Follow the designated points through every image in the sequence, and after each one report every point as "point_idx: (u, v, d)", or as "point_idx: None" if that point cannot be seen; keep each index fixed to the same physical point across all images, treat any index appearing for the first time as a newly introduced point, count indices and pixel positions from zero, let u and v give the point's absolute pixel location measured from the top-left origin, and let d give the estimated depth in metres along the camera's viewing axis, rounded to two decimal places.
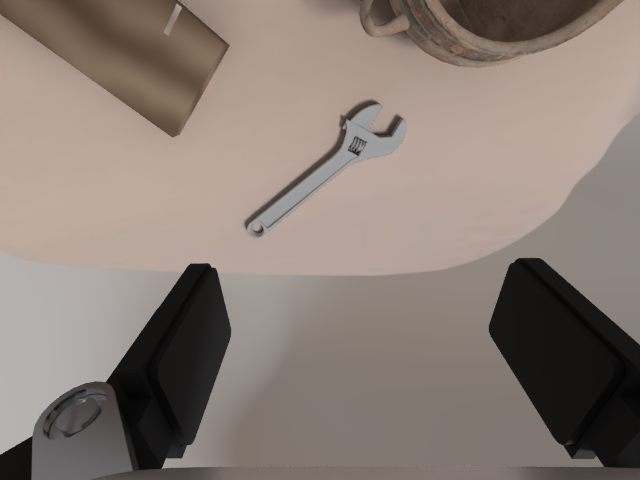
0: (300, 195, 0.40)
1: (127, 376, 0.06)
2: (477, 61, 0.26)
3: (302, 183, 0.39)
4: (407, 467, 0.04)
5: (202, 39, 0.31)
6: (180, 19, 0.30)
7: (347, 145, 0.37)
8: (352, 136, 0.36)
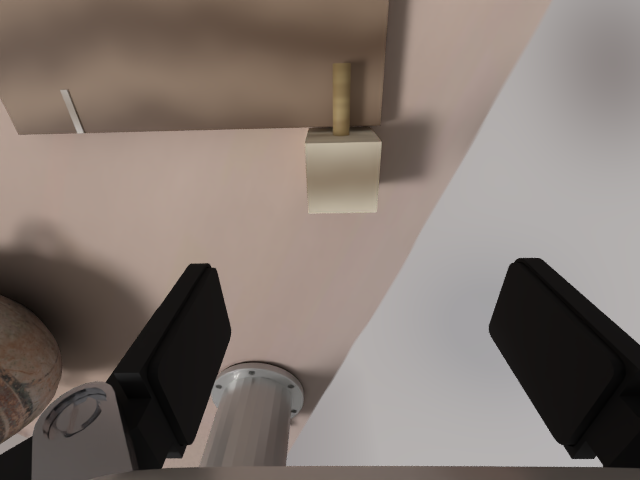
0: None
1: (127, 376, 0.06)
2: None
3: None
4: (407, 467, 0.04)
5: (35, 119, 0.23)
6: (69, 119, 0.23)
7: None
8: None
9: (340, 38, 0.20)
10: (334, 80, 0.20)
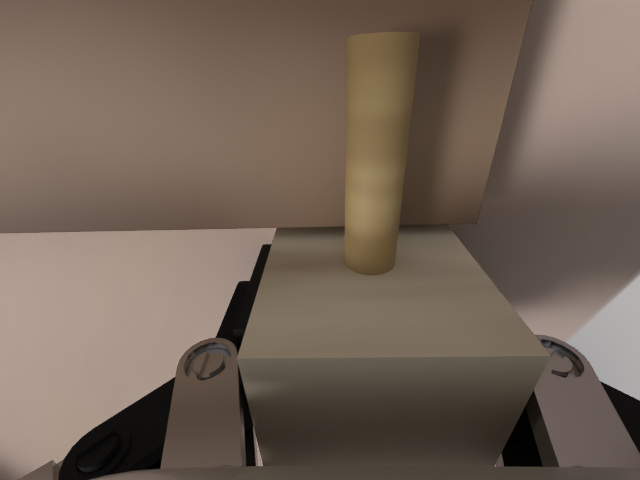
0: None
1: (243, 332, 0.07)
2: None
3: None
4: (407, 466, 0.04)
5: None
6: None
7: None
8: None
9: None
10: (353, 102, 0.05)
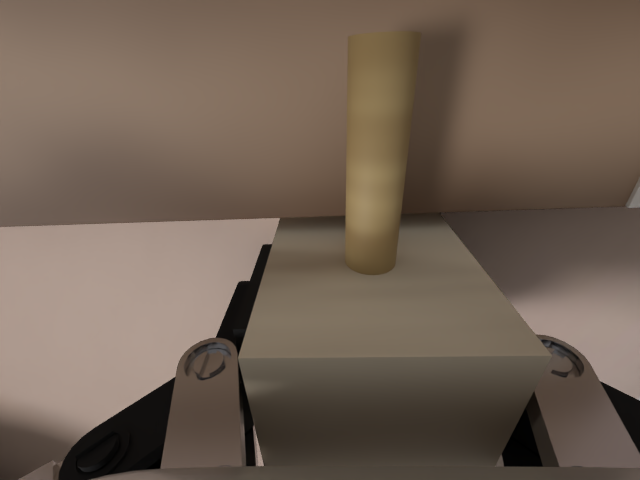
0: None
1: (244, 332, 0.07)
2: None
3: None
4: (407, 466, 0.04)
5: None
6: None
7: None
8: None
9: None
10: (354, 102, 0.05)
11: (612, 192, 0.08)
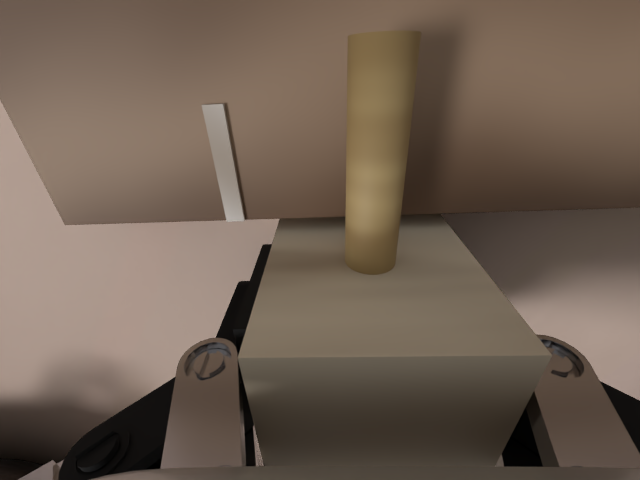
0: None
1: (243, 332, 0.07)
2: None
3: None
4: (408, 467, 0.04)
5: (116, 187, 0.08)
6: (209, 186, 0.08)
7: None
8: None
9: None
10: (354, 101, 0.05)
11: None
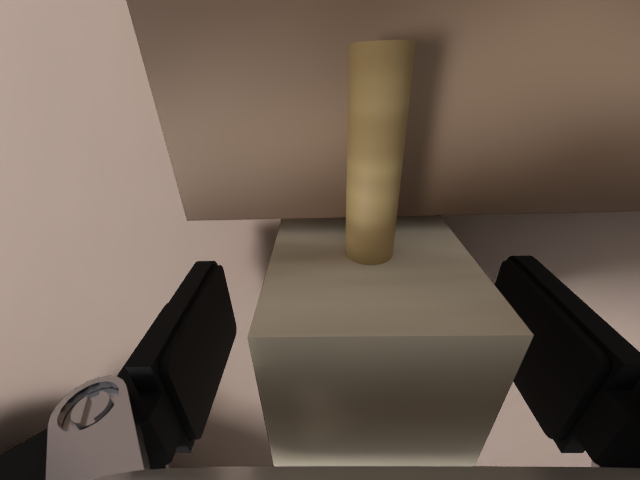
0: None
1: (139, 370, 0.06)
2: None
3: None
4: (407, 467, 0.04)
5: (248, 183, 0.08)
6: (343, 182, 0.08)
7: None
8: None
9: None
10: (355, 104, 0.06)
11: None
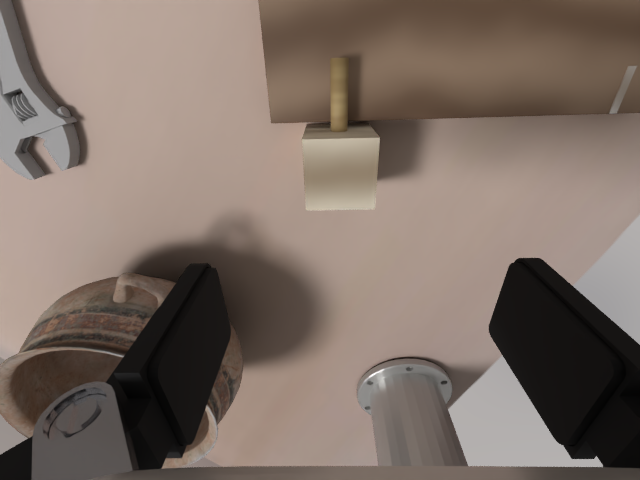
0: None
1: (127, 376, 0.06)
2: (38, 323, 0.24)
3: None
4: (407, 466, 0.04)
5: (295, 107, 0.22)
6: (330, 106, 0.22)
7: (26, 94, 0.23)
8: (38, 111, 0.23)
9: None
10: (332, 75, 0.20)
11: (603, 107, 0.22)
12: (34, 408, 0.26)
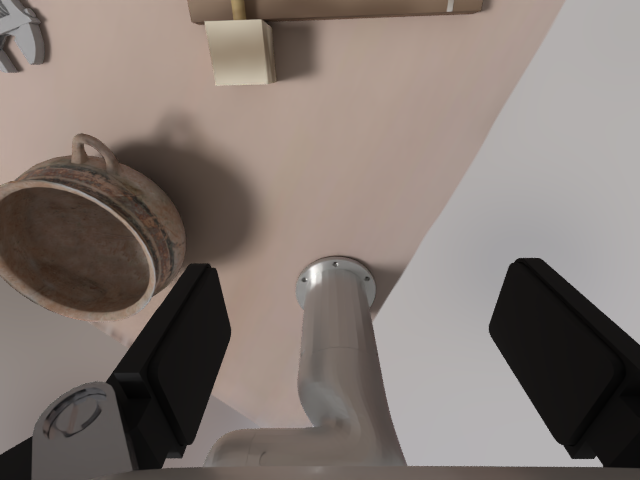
0: None
1: (127, 376, 0.06)
2: None
3: None
4: (407, 467, 0.04)
5: (208, 7, 0.29)
6: None
7: None
8: (9, 9, 0.30)
9: None
10: None
11: (441, 6, 0.29)
12: (12, 260, 0.33)
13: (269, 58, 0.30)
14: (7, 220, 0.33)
